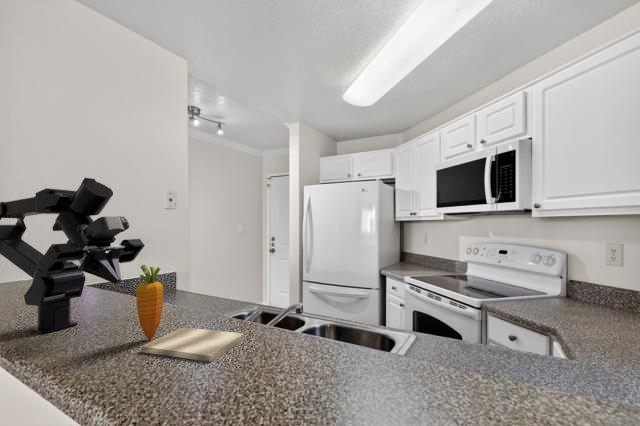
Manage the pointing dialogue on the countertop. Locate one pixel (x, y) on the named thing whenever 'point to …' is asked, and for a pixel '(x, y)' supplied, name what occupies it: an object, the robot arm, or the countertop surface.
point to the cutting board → (194, 344)
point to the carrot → (149, 302)
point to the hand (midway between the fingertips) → (118, 282)
